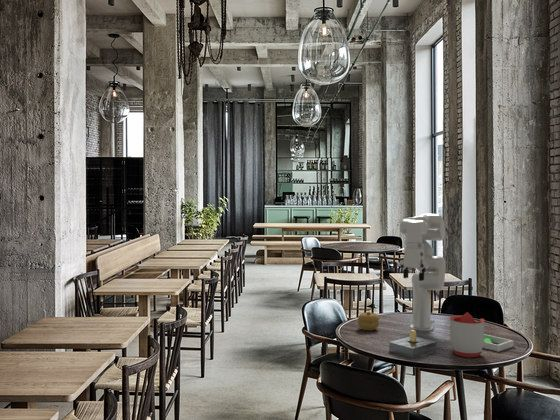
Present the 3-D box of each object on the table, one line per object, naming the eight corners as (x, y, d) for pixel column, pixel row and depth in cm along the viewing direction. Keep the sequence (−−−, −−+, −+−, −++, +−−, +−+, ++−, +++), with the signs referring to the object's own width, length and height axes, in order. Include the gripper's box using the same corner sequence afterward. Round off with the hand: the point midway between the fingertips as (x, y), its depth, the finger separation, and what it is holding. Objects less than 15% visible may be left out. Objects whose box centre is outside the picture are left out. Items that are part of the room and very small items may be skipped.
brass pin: (412, 349, 267) (412, 329, 267) (417, 351, 265) (417, 330, 264) (408, 351, 265) (408, 330, 265) (413, 352, 263) (413, 331, 263)
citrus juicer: (493, 355, 259) (494, 313, 258) (469, 361, 250) (470, 317, 249) (466, 347, 272) (466, 307, 271) (442, 352, 263) (442, 311, 262)
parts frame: (476, 337, 289) (477, 332, 289) (513, 346, 274) (513, 340, 274) (461, 342, 280) (461, 336, 280) (498, 351, 265) (498, 345, 265)
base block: (412, 344, 276) (412, 335, 276) (436, 351, 265) (436, 341, 265) (389, 351, 265) (389, 341, 265) (412, 358, 254) (412, 348, 254)
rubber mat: (411, 335, 293) (411, 334, 293) (426, 339, 285) (426, 338, 285) (399, 339, 287) (399, 338, 287) (414, 343, 279) (414, 342, 279)
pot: (376, 326, 312) (376, 309, 311) (381, 332, 300) (381, 314, 300) (356, 327, 311) (356, 309, 311) (359, 332, 300) (359, 314, 299)
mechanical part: (492, 347, 272) (492, 331, 272) (479, 346, 274) (479, 330, 273) (489, 341, 284) (489, 325, 284) (476, 340, 285) (477, 325, 285)
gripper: (432, 246, 275) (432, 280, 275) (404, 243, 288) (404, 276, 289) (423, 247, 270) (423, 282, 271) (395, 244, 284) (395, 277, 284)
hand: (413, 279), depth 280 cm, fingers open, 9 cm apart
